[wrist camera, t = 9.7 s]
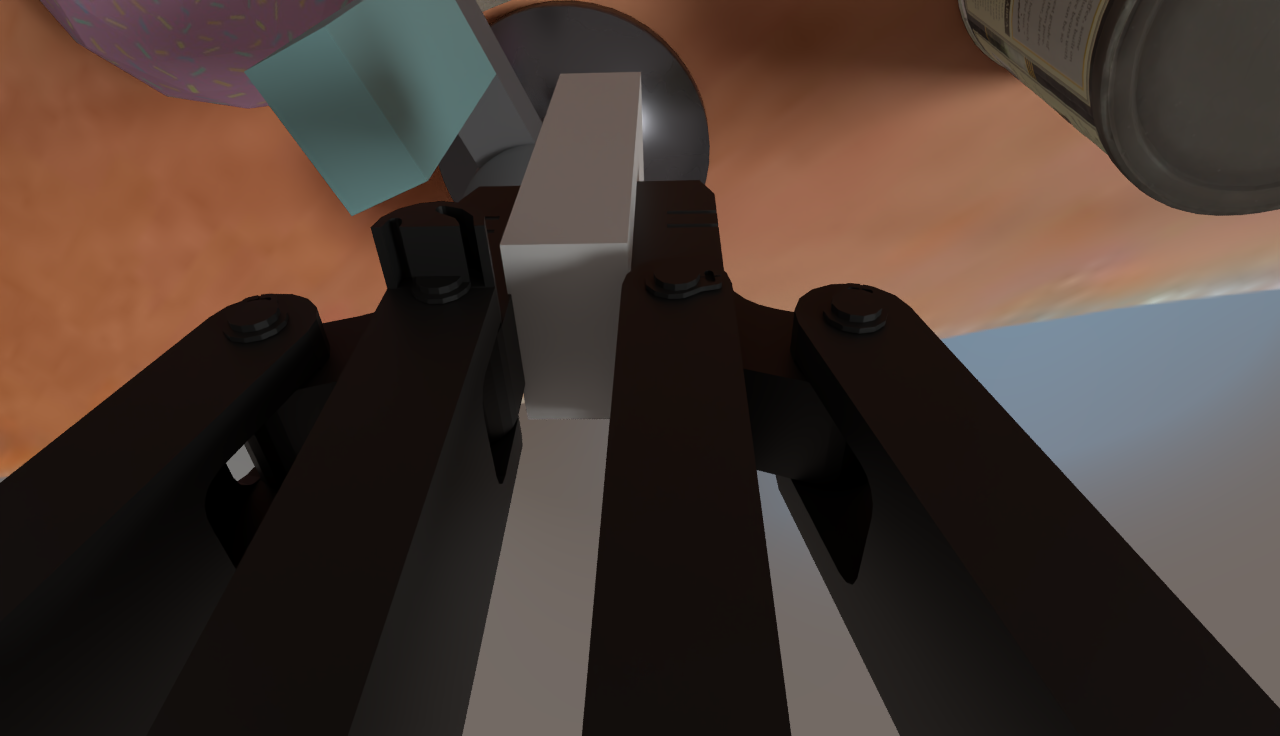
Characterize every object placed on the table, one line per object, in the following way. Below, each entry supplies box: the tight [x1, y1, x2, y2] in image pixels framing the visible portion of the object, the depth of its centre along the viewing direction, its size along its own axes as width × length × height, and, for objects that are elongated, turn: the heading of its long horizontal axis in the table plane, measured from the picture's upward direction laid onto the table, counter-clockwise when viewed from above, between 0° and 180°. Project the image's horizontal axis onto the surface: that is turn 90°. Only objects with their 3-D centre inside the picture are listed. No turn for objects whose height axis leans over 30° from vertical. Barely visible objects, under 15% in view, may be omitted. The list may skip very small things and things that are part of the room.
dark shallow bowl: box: [438, 0, 710, 202], centre depth 33 cm, size 13×16×6 cm
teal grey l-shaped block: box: [244, 0, 544, 216], centre depth 25 cm, size 14×7×12 cm, turn 25°
